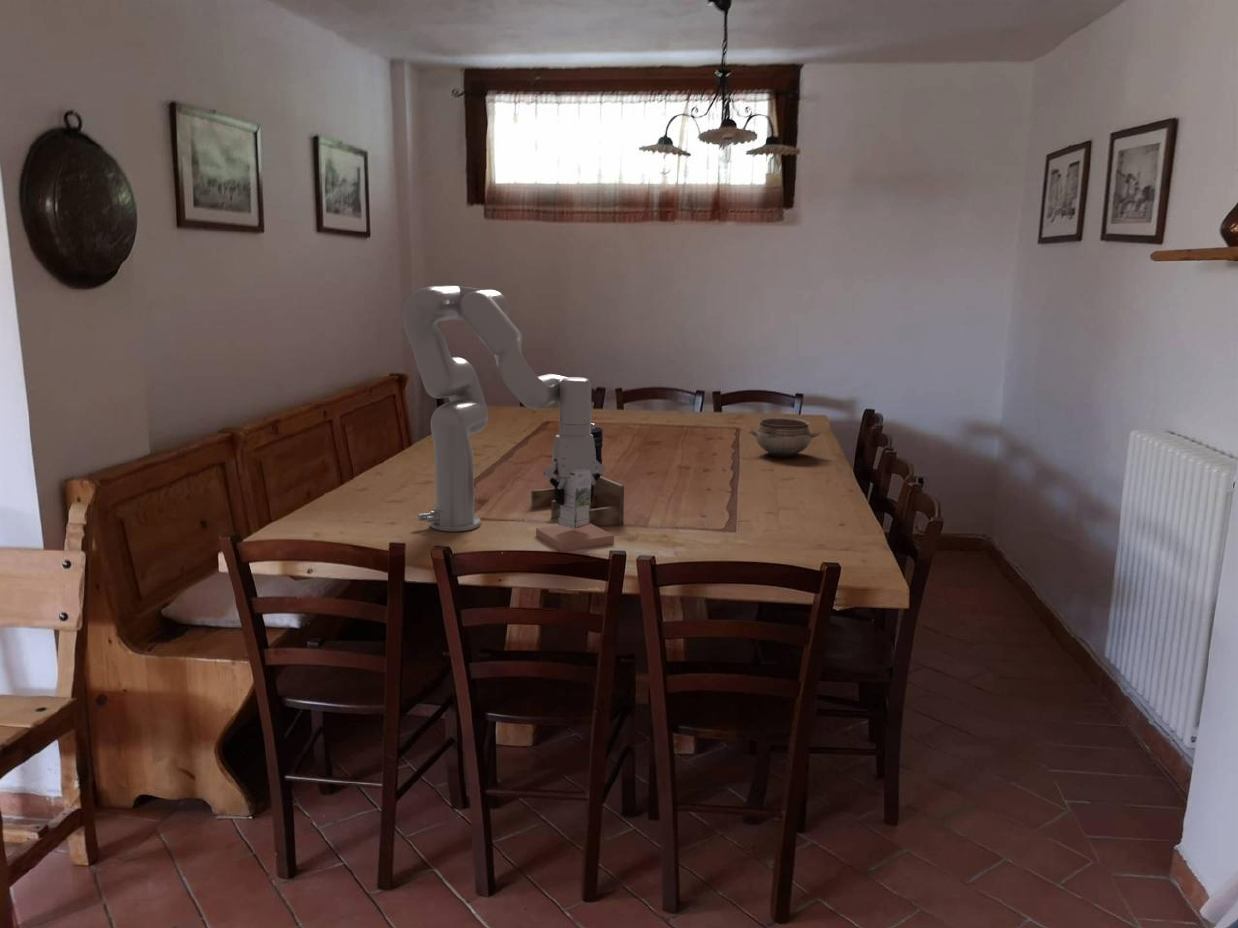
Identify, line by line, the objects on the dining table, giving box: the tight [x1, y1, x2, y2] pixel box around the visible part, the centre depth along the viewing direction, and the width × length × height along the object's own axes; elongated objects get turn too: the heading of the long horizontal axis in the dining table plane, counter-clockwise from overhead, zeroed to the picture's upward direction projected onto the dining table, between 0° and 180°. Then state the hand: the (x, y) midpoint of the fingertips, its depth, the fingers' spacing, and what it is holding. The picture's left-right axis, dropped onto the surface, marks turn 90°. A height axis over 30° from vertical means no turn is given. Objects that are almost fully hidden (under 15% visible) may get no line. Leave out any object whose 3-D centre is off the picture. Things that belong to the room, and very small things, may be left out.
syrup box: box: [557, 469, 591, 529], centre depth 227 cm, size 6×6×14 cm
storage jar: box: [591, 426, 604, 476], centre depth 293 cm, size 10×10×15 cm
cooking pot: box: [747, 416, 821, 459], centre depth 329 cm, size 25×19×12 cm
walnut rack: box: [530, 475, 625, 528], centre depth 250 cm, size 14×26×10 cm, turn 31°
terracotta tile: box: [535, 523, 615, 552], centre depth 229 cm, size 14×14×2 cm
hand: (574, 501), depth 227 cm, fingers closed on syrup box, 7 cm apart
